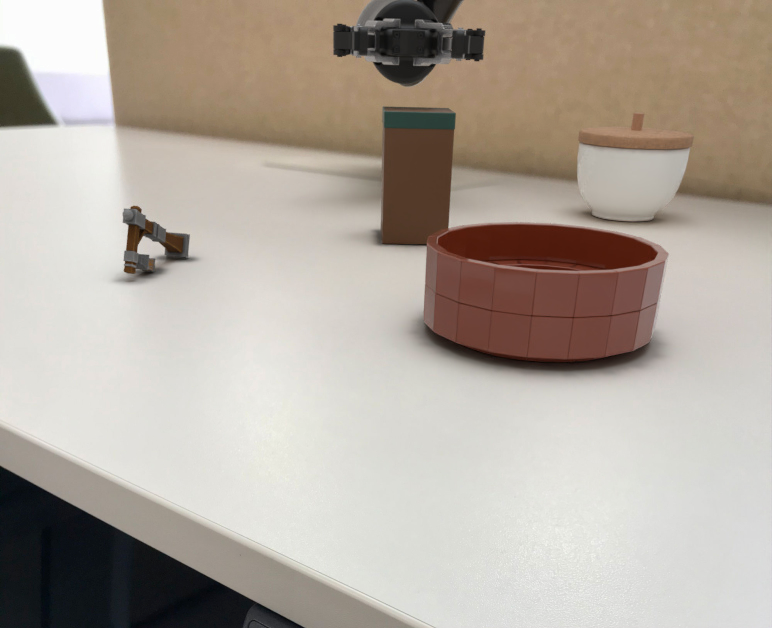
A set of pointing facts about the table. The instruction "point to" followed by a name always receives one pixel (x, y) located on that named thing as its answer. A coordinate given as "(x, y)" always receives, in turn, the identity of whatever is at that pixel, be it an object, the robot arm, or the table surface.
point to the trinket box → (630, 169)
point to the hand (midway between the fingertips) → (412, 42)
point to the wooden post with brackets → (141, 227)
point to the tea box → (415, 173)
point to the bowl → (543, 290)
